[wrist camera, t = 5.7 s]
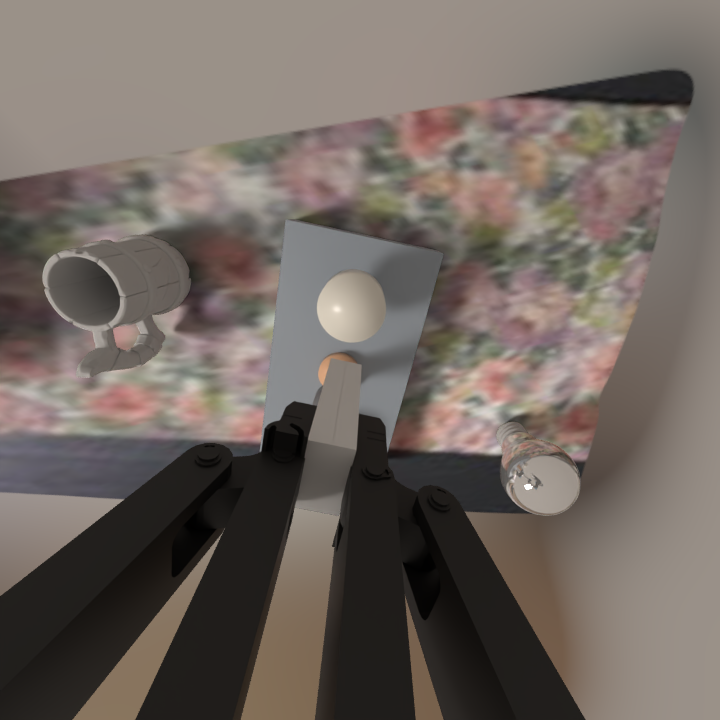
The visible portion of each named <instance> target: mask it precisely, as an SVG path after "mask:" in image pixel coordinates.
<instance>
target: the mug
mask: <svg viewBox="0 0 720 720" xmlns="http://www.w3.org/2000/svg"><path fill="white" fill-rule="evenodd" d="M189 272H190V270H189V267H188V265H187V263H186V261H185V259H184V257H183V256H182V255H181V253H180V252H179V251H178V250H177V249H175V248H174V247H172V246H170V244H169V243H167V242H165V241H163V240H160V239H157V238H154V237H151V236H147V235H132V236H127V237H124V238H122V239H120V240H118V241H117V242H112V241H111V240H101V241H97V242H91V243H87V244H86V245H84V246H82V247H80V248H74V249H68V250H63V251H61V252H59V253H57V254H54V255H53V256H52V257H50V259H49V260H48V261H47V263H46V264H45V267H44V270H43V284H44V287H47V288H45V289H44V291H45V294H46V296H47V298H48V300H49V302H50V304H51V305H52V306H53V308H54V309H55V310H56V311H57V313H58V314H59V315H60V316H61V317H63V318H64V319H65V320H67V321H68V322H70V323H73V325H75V326H77V327H79V328H81V329H84V330H88V331H92V333H93V338H94V342H95V346H96V348H95V350H93V351H91V352H89V353H88V354H87V355H86V356H85V358H84V359H83V360H82V361H81V363H80V364H79V366H78V368H77V371H76V376H77V377H80V378H91V377H93V376H95V375H96V374H98V373H100V372H104V371H112V370H121V369H129V368H133V367H139V366H142V365H143V364H145V363H146V362H147V361H149V360H150V359H151V358H152V357H155V356H156V355H157V354H158V352H159V351H160V350H161V348H162V345H161V344H162V343H163V342H164V340H165V335H164V334H163V332H161V331H160V330H159V329H158V328H157V326H156V324H155V323H154V321H153V318H152V315H159V314H164V313H167V312H169V311H171V310H174V309H175V308H177V307H178V306H179V305H180V304H181V303H182V302H183V300H184V299H185V298H186V296H187V295H188V293H189V291H190V286H191V278H189ZM135 323H136V325H137V327H138V329H139V331H140V334H141V335H138V338H137V340H136V342H135V344H134V347H133V348H131V349H129V350H127V351H126V350H123V349H120V348H117V346H116V343H115V339H114V334H113V328H115V327H118V326H128V325H132V324H135Z"/></svg>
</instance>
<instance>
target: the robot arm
mask: <svg viewBox="0 0 720 720" xmlns="http://www.w3.org/2000/svg"><path fill="white" fill-rule="evenodd" d="M361 369H362V365H361V364H356V363H352V362H347V361H342V360H338V359H333V358H331V360H330V364H329V367H328V371H327V374H326V377H325V381H324V384H323V388H322V391H321V395H320V398H319V402H318V405H317V406H315V405H311V404H306V403H301V402H296V401H294V402H292V403H291V404H289V405H288V406H286V408H285V410H284V412H283V415H282V417H281V419H280V420H279V421H274V422H272V423H270V424H268V425H267V426H266V427H265V428H264V436H263V443H262V450H261V452H260V453H258V454H255V455H251V456H242V457H233V454H232V452H231V451H230V449H229V448H227V447H225V446H223V445H220V444H216V443H204V444H200V445H196V446H194V447H192V448H191V449H189V450H187V451H186V452H185V453H184V454H182V455H181V456H180V457H178V458H177V459H176V460H175V461H173V462H172V463H171V464H169V465H168V466H167V467H166V468H164V469H163V470H162V471H160V472H159V473H158V474H157V475H155V476H154V477H153V478H151V479H150V480H149V481H148V482H146V483H145V484H144V485H142V486H141V487H140V488H139V489H137V490H136V491H135V492H134V493H132V494H131V495H130V496H128V497H127V498H126V499H125V500H123V501H122V502H121V503H120V504H118V505H117V506H116V507H114V508H113V509H112V510H110V511H109V512H108V513H107V514H105V515H104V516H103V517H101V518H100V519H99V520H98V521H96V522H95V523H94V524H93V525H91V526H90V527H89V528H88V529H86V530H85V531H83V532H82V533H81V534H80V535H78V536H77V537H76V538H74V540H72V541H71V542H69V543H68V544H67V545H66V546H64V547H63V548H62V549H60V550H59V551H58V552H57V553H55V554H54V555H53V556H51V557H50V558H49V559H48V560H46V561H45V562H44V563H42V564H41V565H40V566H39V567H37V568H36V569H35V570H34V571H32V572H31V573H30V574H28V575H27V576H26V577H24V578H23V579H22V580H21V581H20V582H18V583H17V584H15V585H14V586H13V587H12V588H11V589H9V590H8V591H6V592H5V593H4V594H3V595H1V596H0V720H72V719H73V718H74V717H75V716H76V714H77V713H78V712H79V711H80V709H81V708H82V707H83V706H84V704H85V703H86V702H87V701H88V699H89V698H90V697H91V696H92V695H93V693H94V692H95V691H96V689H97V688H98V687H99V686H100V684H101V683H102V682H103V681H104V680H105V678H106V677H107V676H108V675H109V673H110V672H111V671H112V670H113V668H114V667H115V666H116V664H117V663H118V662H119V661H120V660H121V658H122V657H123V656H124V655H125V653H126V652H127V650H129V648H130V647H131V646H132V645H133V643H134V642H135V641H136V639H137V638H138V637H139V636H140V634H141V633H142V632H143V631H144V630H145V628H146V627H147V626H148V625H149V623H150V622H151V621H152V620H153V618H154V617H155V616H156V615H157V613H158V612H159V611H160V610H161V609H162V607H163V606H164V605H165V604H166V602H167V601H168V600H169V599H170V597H171V596H172V595H173V594H174V592H175V591H176V590H177V589H178V587H179V586H180V585H181V584H182V582H183V581H184V580H185V579H186V577H187V576H188V575H189V574H190V572H191V571H192V570H193V568H194V567H195V566H196V565H197V563H198V562H199V561H200V560H201V558H202V557H203V556H204V555H205V554H206V552H207V551H208V550H209V549H210V547H211V546H212V545H213V544H214V543H215V541H216V540H217V539H218V538H219V536H220V535H221V534H222V532H223V531H224V532H223V534H222V536H221V538H220V540H219V542H218V545H217V547H216V549H215V551H214V553H213V555H212V557H211V559H210V562H209V564H208V566H207V568H206V570H205V572H204V574H203V577H202V579H201V581H200V583H199V585H198V587H197V589H196V592H195V594H194V596H193V598H192V600H191V602H190V605H189V607H188V609H187V611H186V613H185V615H184V617H183V619H182V621H181V624H180V626H179V628H178V630H177V632H176V634H175V636H174V639H173V641H172V643H171V645H170V647H169V649H168V651H167V653H166V656H165V658H164V660H163V662H162V664H161V666H160V668H159V670H158V673H157V675H156V677H155V679H154V681H153V684H152V685H151V688H150V690H149V692H148V694H147V696H146V698H145V701H144V703H143V705H142V707H141V709H140V711H139V713H138V715H137V718H136V720H241V716H242V712H243V708H244V704H245V700H246V697H247V693H248V689H249V685H250V681H251V677H252V673H253V670H254V665H255V662H256V658H257V654H258V650H259V646H260V642H261V638H262V635H263V631H264V627H265V623H266V619H267V615H268V611H269V608H270V604H271V600H272V596H273V592H274V588H275V584H276V580H277V577H278V573H279V568H280V565H281V561H282V557H283V553H284V550H285V546H286V542H287V538H288V534H289V530H290V526H291V522H292V518H293V513H294V508H299V509H304V510H310V511H315V512H320V513H325V514H331V515H336V516H339V514H340V519H339V523H338V526H337V530H336V534H335V537H334V541H333V545H332V547H335V548H334V557H333V566H332V575H331V583H330V592H329V601H328V610H327V618H326V628H325V636H324V645H323V655H322V663H321V671H320V680H319V689H318V697H317V706H316V715H315V720H416V719H415V707H414V696H413V685H412V673H411V662H410V650H409V639H408V627H407V616H406V606H405V596H406V599H407V603H408V606H409V609H410V612H411V616H412V619H413V622H414V625H415V629H416V632H417V635H418V638H419V642H420V645H421V648H422V651H423V654H424V658H425V661H426V664H427V667H428V671H429V674H430V677H431V680H432V683H433V687H434V690H435V693H436V696H437V699H438V703H439V706H440V709H441V712H442V716H443V719H444V720H585V718H584V716H583V715H582V713H581V712H580V709H579V708H578V706H577V704H576V703H575V701H574V699H573V697H572V696H571V694H570V692H569V691H568V689H567V687H566V685H565V684H564V682H563V680H562V679H561V677H560V675H559V673H558V672H557V670H556V668H555V667H554V665H553V663H552V661H551V660H550V658H549V656H548V655H547V653H546V651H545V649H544V648H543V646H542V644H541V642H540V641H539V639H538V637H537V636H536V634H535V632H534V631H533V629H532V627H531V625H530V624H529V622H528V620H527V618H526V617H525V615H524V613H523V612H522V610H521V608H520V606H519V605H518V603H517V601H516V600H515V598H514V596H513V594H512V593H511V591H510V589H509V588H508V586H507V584H506V582H505V581H504V579H503V577H502V575H501V574H500V572H499V570H498V569H497V567H496V565H495V564H494V562H493V560H492V558H491V556H490V555H489V553H488V552H487V550H486V548H485V547H484V544H483V543H482V541H481V539H480V538H479V536H478V534H477V532H476V531H475V529H474V527H473V526H472V524H471V522H470V521H469V519H468V517H467V516H466V513H465V512H464V510H463V508H462V507H461V505H460V503H459V502H458V500H457V499H456V498H455V497H454V495H452V494H451V493H450V492H448V491H447V490H445V489H443V488H441V487H438V486H432V485H429V486H424V487H422V488H421V489H419V491H418V492H416V491H413V490H411V489H409V488H407V487H405V486H403V485H401V484H400V483H399V482H397V481H396V480H395V479H394V474H393V472H392V470H391V469H390V468H389V467H388V454H387V443H386V441H387V440H386V426H385V425H384V423H383V422H382V420H381V419H380V418H377V417H372V416H368V415H363V414H359V402H360V386H361ZM340 510H341V511H340ZM224 529H225V530H224Z"/></svg>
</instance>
